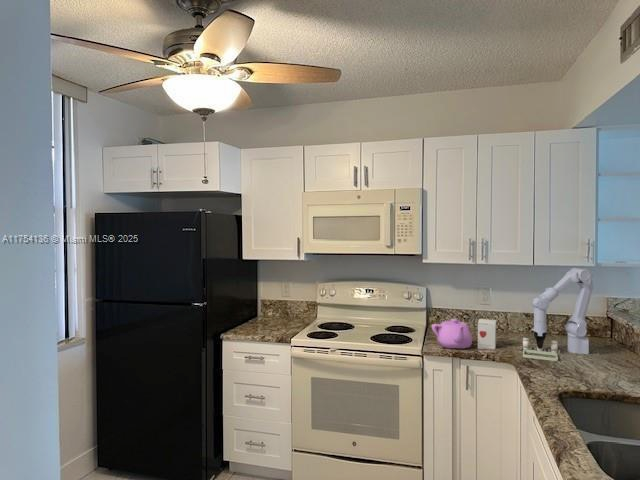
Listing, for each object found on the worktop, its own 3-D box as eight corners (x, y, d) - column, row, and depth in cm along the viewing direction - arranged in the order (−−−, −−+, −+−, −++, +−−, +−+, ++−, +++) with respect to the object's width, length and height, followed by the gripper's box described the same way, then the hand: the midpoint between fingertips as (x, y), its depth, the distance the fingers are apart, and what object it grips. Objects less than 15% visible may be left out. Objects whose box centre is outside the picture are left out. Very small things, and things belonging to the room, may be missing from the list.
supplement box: (477, 349, 230) (477, 321, 230) (478, 345, 238) (478, 318, 238) (495, 351, 226) (495, 322, 226) (496, 347, 235) (496, 319, 234)
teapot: (427, 342, 244) (427, 316, 244) (464, 342, 244) (465, 316, 244) (438, 353, 221) (438, 324, 221) (479, 353, 221) (479, 324, 221)
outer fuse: (529, 349, 226) (529, 338, 226) (529, 350, 224) (529, 339, 224) (522, 348, 228) (522, 337, 228) (522, 350, 225) (522, 338, 225)
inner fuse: (557, 352, 220) (557, 340, 220) (557, 353, 218) (557, 342, 218) (550, 351, 222) (550, 340, 222) (550, 353, 219) (550, 341, 219)
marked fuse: (543, 350, 223) (543, 339, 223) (543, 352, 221) (543, 340, 221) (536, 349, 225) (536, 338, 225) (536, 351, 222) (536, 339, 222)
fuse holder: (560, 354, 221) (560, 349, 221) (561, 357, 216) (561, 352, 216) (519, 349, 230) (519, 344, 230) (519, 352, 224) (519, 347, 224)
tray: (556, 357, 215) (556, 352, 215) (557, 363, 205) (557, 358, 205) (523, 353, 222) (523, 349, 222) (522, 358, 212) (522, 354, 212)
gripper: (531, 317, 231) (531, 343, 231) (531, 322, 218) (531, 349, 218) (546, 319, 228) (546, 344, 228) (547, 324, 215) (546, 351, 215)
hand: (539, 347), depth 223 cm, fingers closed on marked fuse, 3 cm apart
